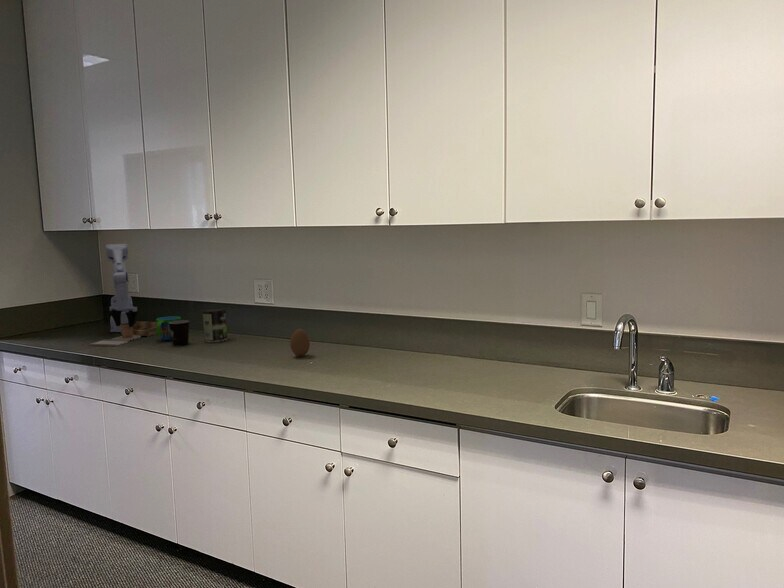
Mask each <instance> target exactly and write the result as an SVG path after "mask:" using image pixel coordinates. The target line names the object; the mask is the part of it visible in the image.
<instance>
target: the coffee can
mask: <svg viewBox="0 0 784 588" xmlns="http://www.w3.org/2000/svg"><path fill="white" fill-rule="evenodd" d="M226 310H227V309H226V308H222V307H215V308H214V307H212V308H205V309H202V310H201V313H202V325H203V336H204V337H203V338H204V339H203V340H204V342H205V343H220V341H222V342H225V341H227V340H228V330H227V317H226V316H227V315H226V314H227V313H226ZM224 340H225V341H224Z"/></svg>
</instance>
